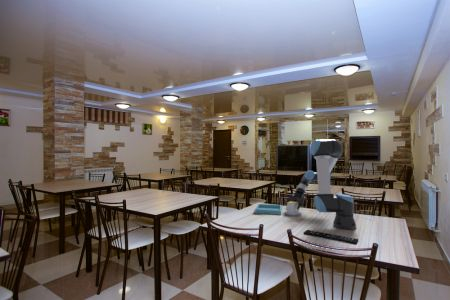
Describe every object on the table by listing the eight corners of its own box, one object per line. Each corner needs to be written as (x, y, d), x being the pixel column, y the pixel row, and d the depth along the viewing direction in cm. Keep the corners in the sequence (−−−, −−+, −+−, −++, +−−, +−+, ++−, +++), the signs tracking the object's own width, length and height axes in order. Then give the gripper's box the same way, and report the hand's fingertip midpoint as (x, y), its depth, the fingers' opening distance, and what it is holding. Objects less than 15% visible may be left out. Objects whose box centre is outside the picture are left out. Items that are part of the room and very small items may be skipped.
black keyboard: (306, 231, 176) (306, 228, 176) (358, 241, 157) (358, 238, 157) (303, 234, 170) (303, 231, 170) (356, 245, 151) (356, 241, 151)
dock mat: (301, 217, 210) (301, 216, 210) (284, 216, 213) (284, 215, 213) (301, 213, 223) (301, 212, 223) (284, 212, 227) (284, 211, 227)
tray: (281, 215, 216) (281, 210, 216) (255, 213, 221) (255, 209, 221) (281, 209, 237) (281, 205, 237) (258, 208, 242) (258, 203, 242)
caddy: (291, 212, 223) (291, 201, 223) (298, 213, 218) (298, 202, 218) (287, 213, 218) (287, 202, 218) (294, 215, 213) (294, 203, 213)
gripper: (313, 194, 220) (303, 215, 210) (292, 191, 236) (282, 211, 226) (310, 188, 216) (299, 210, 206) (289, 185, 232) (278, 206, 222)
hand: (290, 210), depth 216 cm, fingers open, 8 cm apart
